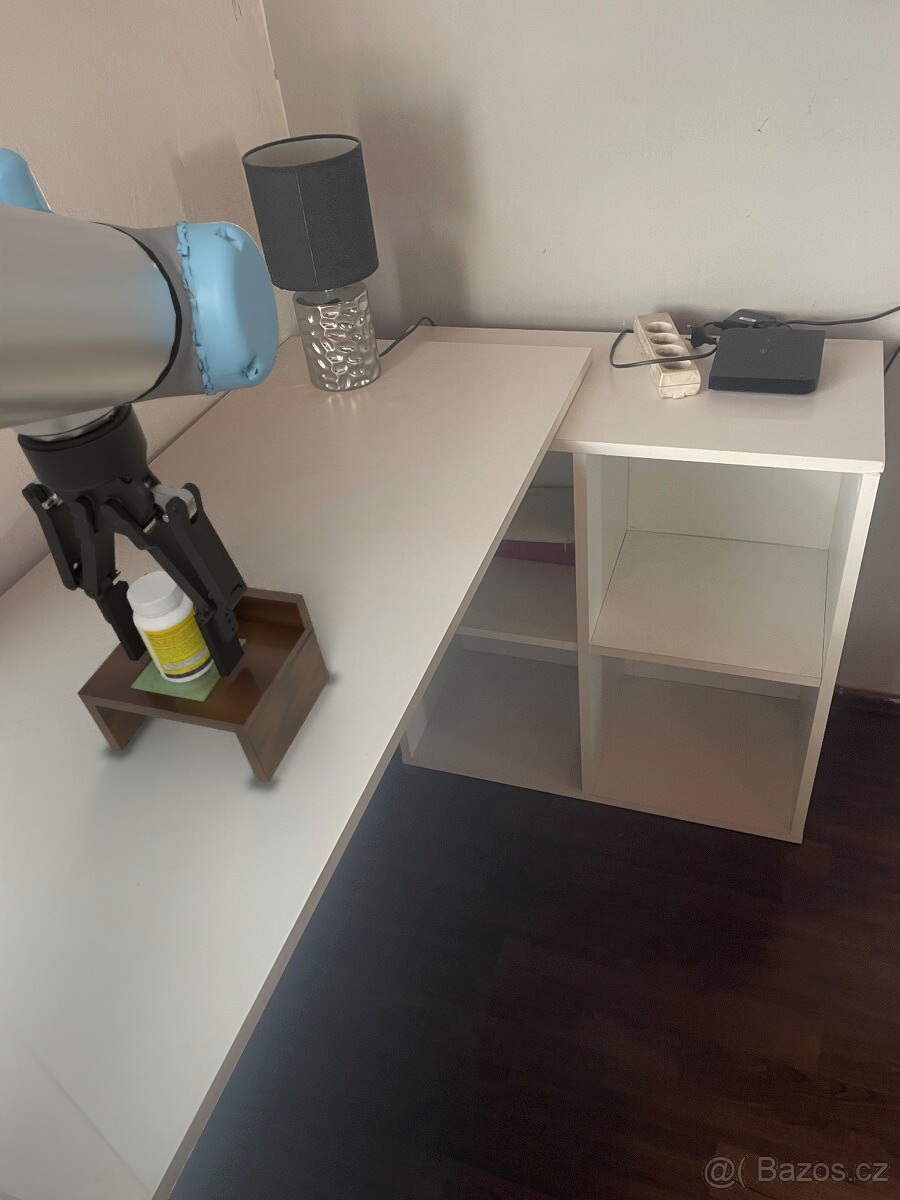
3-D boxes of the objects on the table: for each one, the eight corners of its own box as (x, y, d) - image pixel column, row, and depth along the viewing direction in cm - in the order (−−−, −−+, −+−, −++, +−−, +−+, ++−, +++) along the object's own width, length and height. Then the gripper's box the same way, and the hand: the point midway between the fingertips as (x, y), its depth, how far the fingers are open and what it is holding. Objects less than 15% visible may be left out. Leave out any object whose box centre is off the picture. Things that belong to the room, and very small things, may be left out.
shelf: (268, 782, 71) (231, 699, 64) (110, 748, 76) (61, 667, 69) (330, 677, 79) (302, 593, 72) (183, 653, 84) (145, 573, 78)
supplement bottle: (228, 656, 72) (195, 579, 66) (183, 692, 69) (145, 615, 64) (192, 636, 74) (158, 560, 69) (148, 670, 72) (109, 594, 66)
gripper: (236, 391, 56) (318, 642, 71) (-12, 379, 63) (111, 611, 78) (173, 454, 51) (276, 711, 66) (-89, 434, 58) (58, 670, 72)
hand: (186, 656), depth 71 cm, fingers open, 8 cm apart
